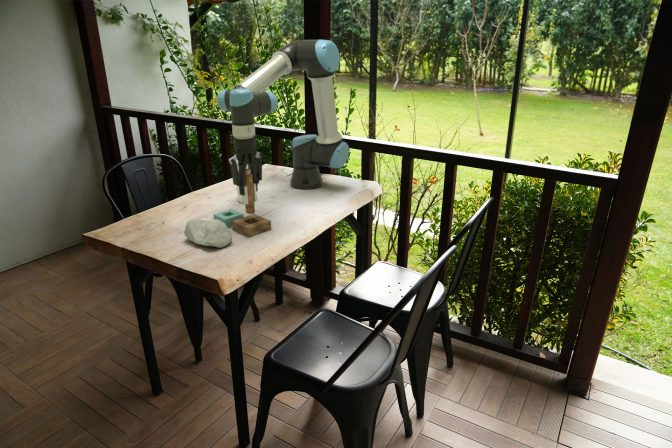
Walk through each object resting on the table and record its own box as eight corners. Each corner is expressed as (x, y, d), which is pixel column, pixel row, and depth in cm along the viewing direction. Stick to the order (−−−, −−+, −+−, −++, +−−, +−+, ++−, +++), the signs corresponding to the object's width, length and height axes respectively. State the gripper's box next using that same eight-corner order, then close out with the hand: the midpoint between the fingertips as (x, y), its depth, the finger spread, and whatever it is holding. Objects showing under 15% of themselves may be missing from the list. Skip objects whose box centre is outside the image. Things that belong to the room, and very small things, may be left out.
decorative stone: (239, 233, 162) (224, 216, 154) (226, 257, 157) (210, 241, 150) (203, 227, 170) (187, 211, 163) (189, 250, 165) (172, 234, 158)
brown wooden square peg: (251, 210, 171) (248, 167, 165) (256, 212, 169) (253, 169, 162) (244, 212, 169) (240, 169, 162) (249, 214, 166) (245, 171, 160)
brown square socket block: (255, 222, 178) (254, 213, 176) (271, 229, 171) (270, 220, 170) (232, 229, 171) (231, 221, 170) (248, 237, 165) (248, 228, 163)
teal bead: (232, 217, 183) (231, 208, 182) (244, 222, 178) (243, 213, 176) (214, 222, 178) (213, 214, 176) (225, 228, 173) (225, 219, 171)
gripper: (230, 142, 150) (236, 210, 159) (270, 134, 161) (274, 198, 170) (217, 138, 155) (224, 205, 164) (257, 131, 166) (261, 194, 175)
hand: (249, 201), depth 167 cm, fingers closed on brown wooden square peg, 3 cm apart
